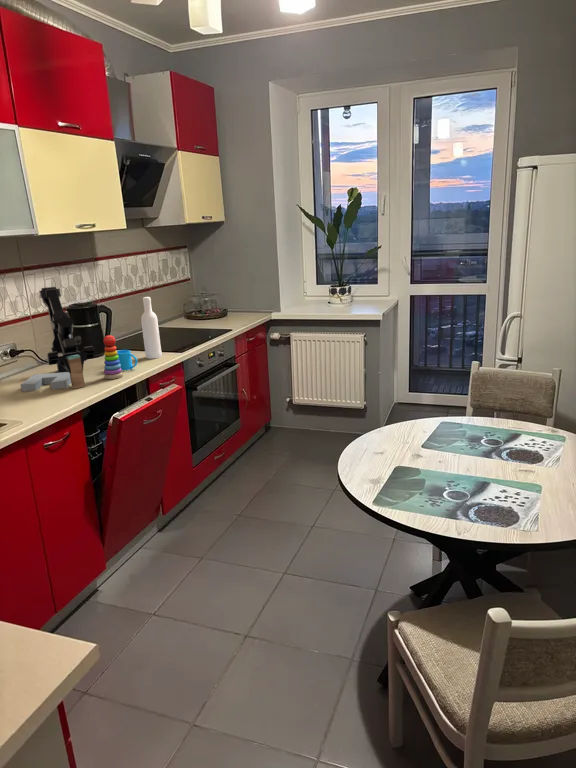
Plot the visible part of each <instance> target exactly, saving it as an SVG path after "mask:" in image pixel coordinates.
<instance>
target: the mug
mask: <svg viewBox="0 0 576 768" xmlns="http://www.w3.org/2000/svg"><path fill="white" fill-rule="evenodd" d="M116 351H117V355H118V356H119V358H118V359H119V361H120V364H121V367H120V368H121V369H122V370H126V371H130V370H132V369H133V368H135V367H137V365H138V358H137V356H135V354H133V353H132V351H131V350H130V349H118V350H116ZM132 357H133V359H134V362H135V363H134V365H133V359H132ZM129 369H130V370H129Z"/></svg>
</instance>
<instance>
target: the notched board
mask: <svg viewBox="0 0 576 768" xmlns="http://www.w3.org/2000/svg"><path fill="white" fill-rule="evenodd" d="M19 385H20V389H21V392H32V391H34V390H35V391H37V390H38V389H40V388H41V387H42V386H43V385H50V387H51V390H60V388H64V389H67V388H68V387H69V386H70V385H71V379H70V373H69V372H61V373H55V372H51V373H49V372H48V373H37V374H33V375H31V376H30V377H29V378H27V379H26V380H25V381H23V382H22V383H20V384H19ZM68 385H69V386H68ZM40 386H41V387H40ZM67 386H68V387H67ZM66 387H67V388H66Z"/></svg>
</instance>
